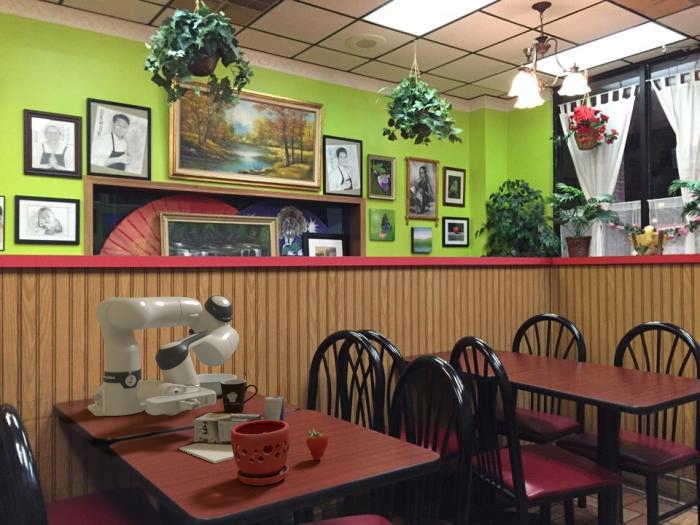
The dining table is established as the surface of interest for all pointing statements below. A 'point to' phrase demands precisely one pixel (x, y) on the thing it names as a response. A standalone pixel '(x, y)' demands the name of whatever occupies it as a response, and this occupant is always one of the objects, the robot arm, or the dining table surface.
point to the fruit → (317, 443)
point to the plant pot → (261, 451)
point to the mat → (210, 451)
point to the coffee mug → (234, 395)
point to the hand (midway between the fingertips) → (195, 406)
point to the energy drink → (274, 408)
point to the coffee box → (219, 426)
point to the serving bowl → (214, 381)
